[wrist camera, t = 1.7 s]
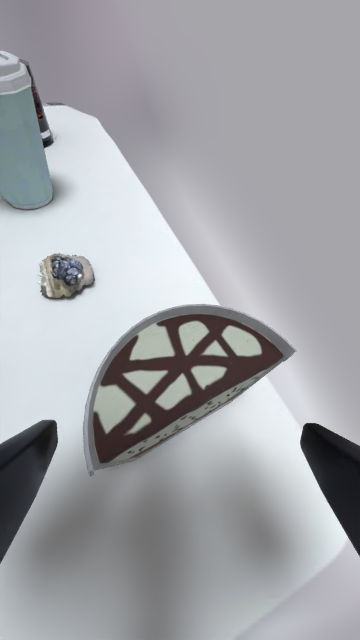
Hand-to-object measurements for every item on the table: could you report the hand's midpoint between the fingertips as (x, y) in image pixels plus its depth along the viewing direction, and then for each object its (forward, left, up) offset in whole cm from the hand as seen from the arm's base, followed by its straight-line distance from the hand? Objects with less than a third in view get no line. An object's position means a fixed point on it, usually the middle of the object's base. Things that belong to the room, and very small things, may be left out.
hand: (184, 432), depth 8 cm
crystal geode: (+19, +11, -12) cm, 25 cm away
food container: (+4, 0, -12) cm, 13 cm away
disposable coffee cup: (+35, +18, -12) cm, 41 cm away
